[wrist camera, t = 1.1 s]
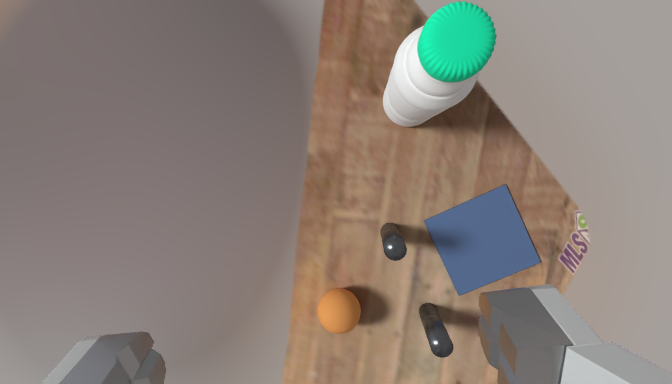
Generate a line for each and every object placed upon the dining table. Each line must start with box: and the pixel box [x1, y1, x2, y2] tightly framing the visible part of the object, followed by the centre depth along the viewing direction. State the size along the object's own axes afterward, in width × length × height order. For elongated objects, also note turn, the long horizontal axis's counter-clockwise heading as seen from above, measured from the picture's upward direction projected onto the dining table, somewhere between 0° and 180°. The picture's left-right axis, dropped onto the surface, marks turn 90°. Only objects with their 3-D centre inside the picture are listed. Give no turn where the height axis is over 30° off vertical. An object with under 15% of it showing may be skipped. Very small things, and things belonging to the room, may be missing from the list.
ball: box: [318, 288, 361, 334], centre depth 46 cm, size 6×6×6 cm
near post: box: [381, 223, 407, 261], centre depth 43 cm, size 3×3×9 cm
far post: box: [419, 303, 453, 357], centre depth 44 cm, size 3×3×9 cm
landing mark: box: [424, 185, 540, 296], centre depth 46 cm, size 12×12×1 cm
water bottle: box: [383, 1, 496, 127], centre depth 33 cm, size 7×7×25 cm
